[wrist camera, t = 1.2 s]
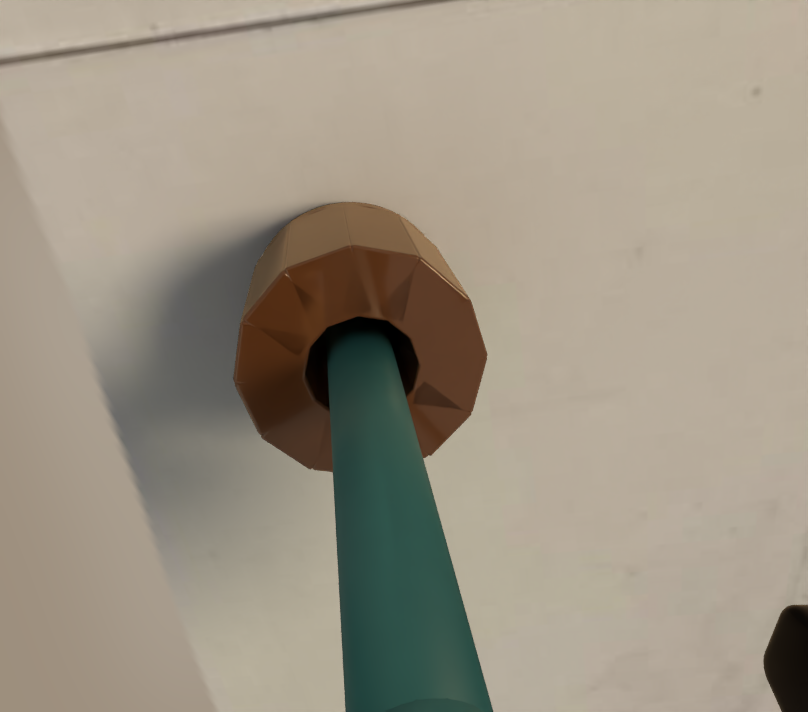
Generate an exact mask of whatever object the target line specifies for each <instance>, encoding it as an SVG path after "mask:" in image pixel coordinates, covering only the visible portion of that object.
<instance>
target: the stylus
mask: <svg viewBox="0 0 808 712" xmlns="http://www.w3.org/2000/svg"><path fill="white" fill-rule="evenodd" d="M326 348H327V367H328V386H329V405H330V424H331V443H332V462H333V481H334V500H335V518H336V537H337V556H338V575H339V594H340V613H341V632H342V651H343V670H344V689H345V708H346V712H493V709H492V706H491V702H490V698H489V695H488V691H487V688H486V684H485V680H484V677H483V673H482V670H481V666H480V662H479V659H478V655H477V651H476V648H475V644H474V641H473V637H472V633H471V630H470V626H469V623H468V619H467V615H466V612H465V608H464V605H463V601H462V597H461V594H460V590H459V586H458V583H457V579H456V576H455V572H454V568H453V565H452V561H451V558H450V554H449V550H448V547H447V543H446V539H445V536H444V532H443V529H442V525H441V521H440V518H439V514H438V511H437V507H436V503H435V500H434V496H433V493H432V489H431V485H430V482H429V478H428V474H427V471H426V467H425V464H424V460H423V456H422V453H421V449H420V446H419V442H418V438H417V435H416V431H415V428H414V424H413V420H412V417H411V413H410V409H409V406H408V402H407V399H406V395H405V391H404V388H403V384H402V381H401V377H400V373H399V370H398V366H397V363H396V359H395V355H394V352H393V348H392V344H391V341H390V337H389V334H388V330H387V326H386V323H385V320H378V319H372V318H365V317H355V318H352V319H349V320H347V321H344V322H341V323H338V324H335V325H333V326H330V327H328V328H327V329H326Z"/></svg>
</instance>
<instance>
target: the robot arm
mask: <svg viewBox="0 0 808 712" xmlns="http://www.w3.org/2000/svg"><path fill="white" fill-rule="evenodd" d="M764 670H765V674H766V677H767V680H768V682H769V684H770V686H771V689H772V691H773V693H774V695H775V698H776V700H777V702H778V704H779V706H780V709H781V711H782V712H808V605H791V606H788V607H786V608H785V609H784V610H783V611H782V613H781V614H780V617H779V619H778V622H777V624H776V627H775V629H774V631H773V634H772V636H771V639H770V641H769V644H768V646H767V649H766V651H765V654H764Z"/></svg>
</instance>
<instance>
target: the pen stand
mask: <svg viewBox="0 0 808 712" xmlns="http://www.w3.org/2000/svg"><path fill="white" fill-rule="evenodd" d="M355 317H365V318H372V319H378V320H385V323H386V326H387V330H388V334H389V337H390V341H391V344H392V348H393V352H394V355H395V359H396V363H397V366H398V370H399V373H400V377H401V381H402V384H403V388H404V391H405V395H406V399H407V402H408V406H409V409H410V413H411V417H412V420H413V424H414V428H415V431H416V435H417V438H418V442H419V446H420V449H421V453H422V456H423V458H425V457H427V456H428V455H430V456H431V455H432V454H433V453H434V452H435V451H436V450H437V449H438V448H439V447H440V446H441V445H442V444H443V443H444V442H445V441H446V440H447V439H448V438H449V437H450V436H451V435H452V434H453V433H454V432H455V431H456V430H457V429H458V428H459V427H460V426H461V425H462V424H463V423H464V422H465V421H466V420H467V418H468V417H469V416H470V415H471V412H472V411H473V408H474V404H475V401H476V397H477V393H478V390H479V386H480V382H481V379H482V375H483V371H484V368H485V364H486V360H487V351H486V348H485V345H484V342H483V338H482V335H481V332H480V328H479V325H478V322H477V319H476V315H475V312H474V309H473V305H472V302H471V300H470V298H469V297H468V295H467V294H466V292H465V291H464V289H463V287H462V286H461V284H460V283H459V281H458V280H457V278H456V277H455V275H454V274H453V272H452V270H451V269H450V267H449V266H448V264H447V263H446V261H445V260H444V258H443V257H442V255H441V253H440V252H439V250H438V249H437V247H436V246H435V245H434V244H433V243H432V242H430V241H429V240H428V239H427V238H426V237H425V236H424V234H423V233H422V232H421V231H420V230H418V229H417V228H416V227H415V226H414V225H413V224H412V223H410V222H409V221H408V220H406V219H405V218H404V217H402V216H400V215H399V214H396V213H395V212H393V211H390V210H388V209H385V208H383V207H380V206H376V205H372V204H367V203H358V202H341V203H334V204H328V205H325V206H321V207H318V208H315V209H312V210H310V211H308V212H306V213H303V214H302V215H300V216H298V217H297V218H295V219H294V220H292V221H291V222H290V223H288V224H287V225H286V226H285V227H283V228H282V229H281V230H280V231H279V232H278V233H277V235H276V236H275V237H274V238H273V239H272V240H271V242H270V243H269V245H268V246H267V248H266V249H265V251H264V253H263V255H262V256H261V258H260V259H259V260H258V262H257V265H256V266H255V268H254V272H253V276H252V280H251V283H250V287H249V291H248V295H247V299H246V302H245V306H244V310H243V314H242V318H241V321H240V327H239V335H238V344H237V352H236V360H235V368H234V377H233V380H234V382H235V387H236V389H237V391H238V393H239V395H240V397H241V399H242V401H243V403H244V405H245V407H246V409H247V411H248V413H249V415H250V417H251V419H252V421H253V423H254V425H255V427H256V429H257V431H258V433H259V434H260V435H261V437H262V439H264V440H265V441H267V442H268V443H270V444H272V445H273V446H275V447H276V448H278V449H279V450H281V451H282V452H284V453H285V454H287V455H288V456H290V457H292V458H293V459H295V460H296V461H298V462H299V463H301V464H302V465H304V466H305V467H307V468H308V469H312V468H313V469H314V470H319V471H329V472H333V462H332V443H331V424H330V405H329V386H328V367H327V348H326V329H327V328H328V327H330V326H333V325H335V324H338V323H341V322H344V321H347V320H349V319H352V318H355Z"/></svg>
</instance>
